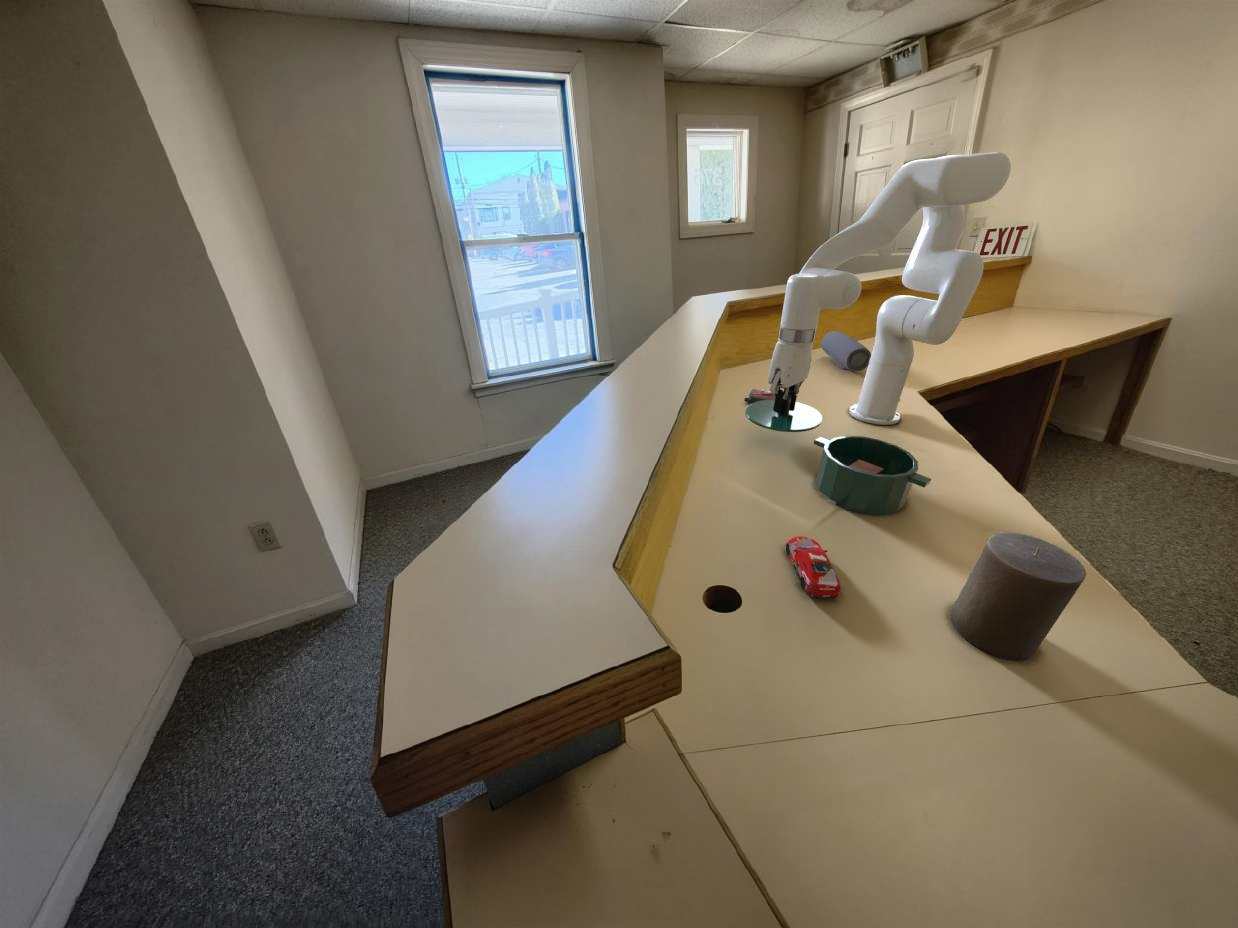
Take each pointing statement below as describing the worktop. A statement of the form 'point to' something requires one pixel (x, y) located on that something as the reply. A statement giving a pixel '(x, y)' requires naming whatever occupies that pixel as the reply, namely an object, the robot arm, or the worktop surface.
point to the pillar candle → (1015, 594)
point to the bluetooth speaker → (846, 351)
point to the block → (866, 467)
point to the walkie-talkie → (759, 396)
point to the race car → (813, 568)
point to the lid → (783, 416)
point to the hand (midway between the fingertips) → (783, 410)
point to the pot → (866, 474)
